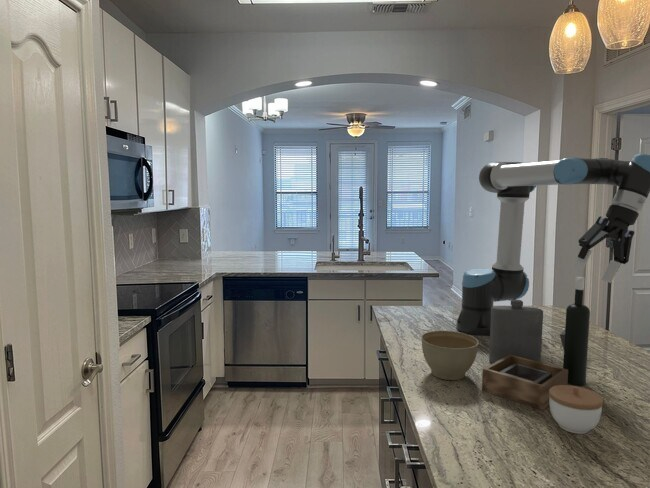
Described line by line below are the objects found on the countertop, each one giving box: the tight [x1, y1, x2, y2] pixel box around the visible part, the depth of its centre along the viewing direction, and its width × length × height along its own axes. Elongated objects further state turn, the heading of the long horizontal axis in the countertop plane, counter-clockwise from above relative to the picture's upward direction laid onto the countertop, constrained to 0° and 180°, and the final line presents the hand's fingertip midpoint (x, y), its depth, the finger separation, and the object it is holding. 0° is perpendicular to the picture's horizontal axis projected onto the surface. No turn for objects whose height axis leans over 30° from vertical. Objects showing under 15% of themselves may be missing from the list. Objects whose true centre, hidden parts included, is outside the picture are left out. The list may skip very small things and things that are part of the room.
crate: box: [481, 355, 568, 411], centre depth 123 cm, size 16×16×6 cm
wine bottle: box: [562, 276, 591, 387], centre depth 127 cm, size 6×6×30 cm
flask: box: [488, 299, 544, 364], centre depth 142 cm, size 15×6×20 cm, turn 76°
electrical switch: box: [559, 329, 565, 350], centre depth 149 cm, size 9×5×9 cm, turn 141°
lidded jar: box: [549, 384, 604, 435], centre depth 103 cm, size 11×11×9 cm
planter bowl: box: [420, 330, 479, 381], centre depth 133 cm, size 16×16×11 cm
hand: (591, 275), depth 134 cm, fingers open, 13 cm apart
